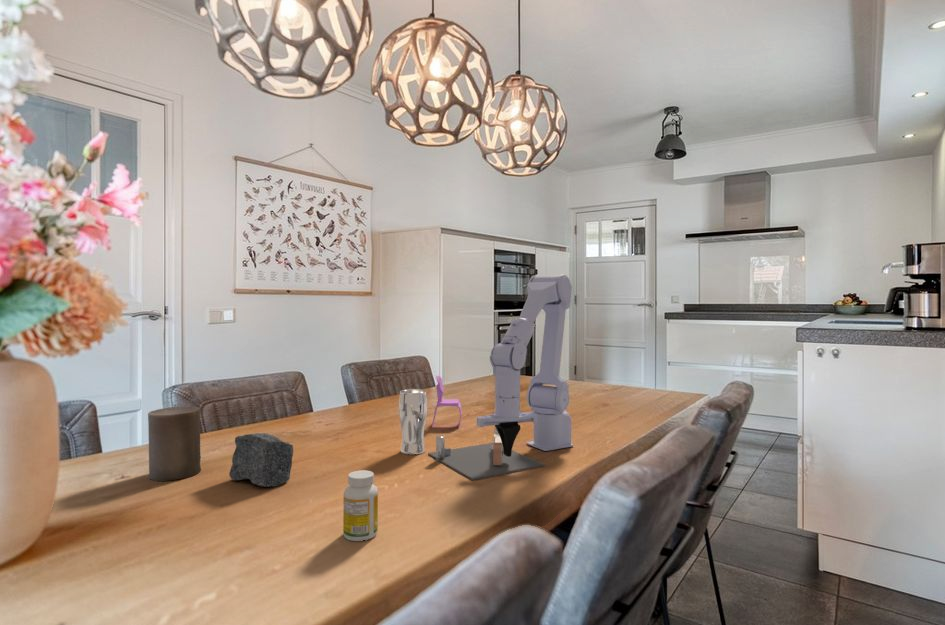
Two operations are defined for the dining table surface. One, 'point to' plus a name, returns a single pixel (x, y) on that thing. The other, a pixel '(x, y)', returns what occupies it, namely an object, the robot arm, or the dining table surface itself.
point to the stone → (261, 459)
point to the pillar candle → (174, 443)
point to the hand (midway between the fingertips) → (507, 455)
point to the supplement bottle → (360, 507)
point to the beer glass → (412, 420)
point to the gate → (497, 450)
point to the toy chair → (445, 401)
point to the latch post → (441, 448)
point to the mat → (485, 462)
